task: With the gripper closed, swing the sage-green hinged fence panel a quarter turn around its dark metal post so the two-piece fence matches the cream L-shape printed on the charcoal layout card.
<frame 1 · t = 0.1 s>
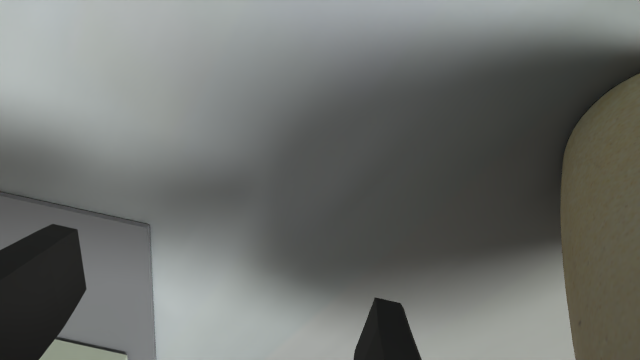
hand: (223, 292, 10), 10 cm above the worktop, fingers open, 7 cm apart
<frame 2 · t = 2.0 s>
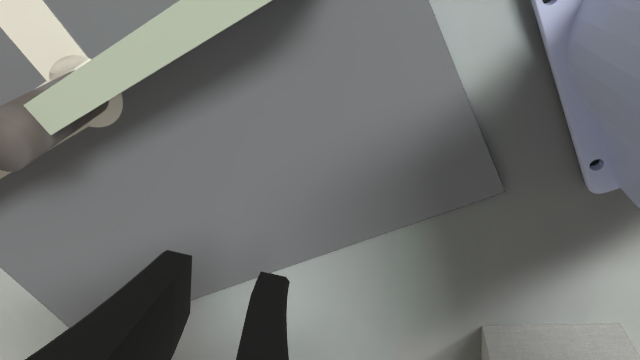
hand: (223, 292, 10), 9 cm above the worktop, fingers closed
sage fence panel: (186, 27, 14), point 3 cm above the worktop, hinge at 0.0°
walnut fence section: (86, 92, 18), resting on layout card
layout card: (98, 85, 18), on the worktop
pink white carton: (544, 343, 24), on the worktop
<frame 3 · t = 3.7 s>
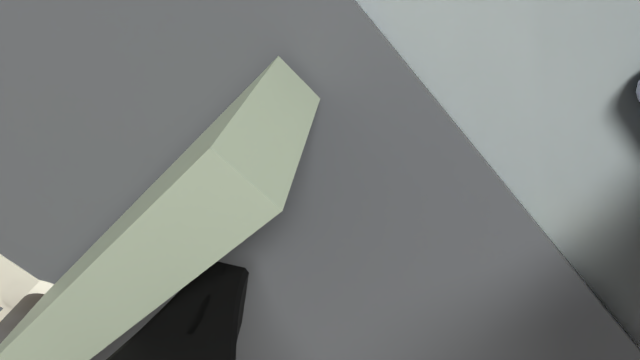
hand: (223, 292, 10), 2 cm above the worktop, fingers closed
sage fence panel: (114, 269, 9), point 3 cm above the worktop, hinge at 1.4°, touching gripper
walnut fence section: (50, 313, 14), resting on layout card
layout card: (63, 300, 14), on the worktop
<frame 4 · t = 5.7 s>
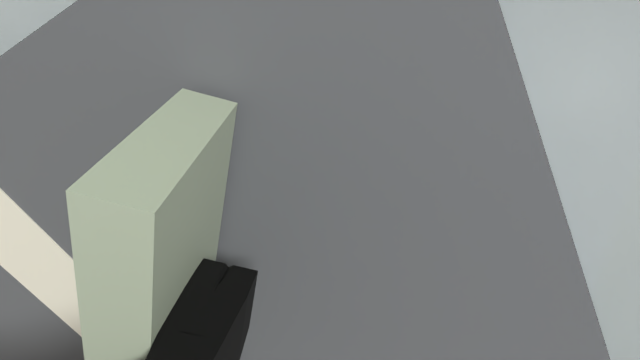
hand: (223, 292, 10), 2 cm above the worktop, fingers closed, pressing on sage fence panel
sage fence panel: (161, 335, 10), point 3 cm above the worktop, hinge at 48.4°, touching gripper
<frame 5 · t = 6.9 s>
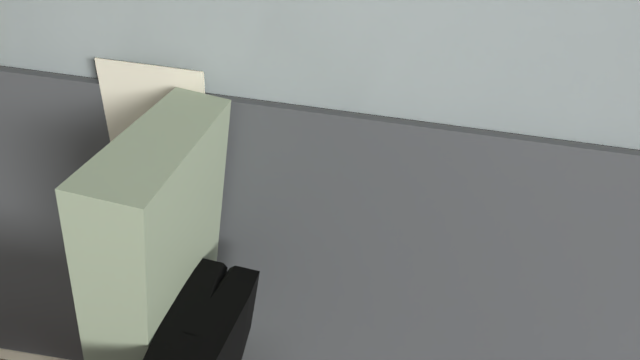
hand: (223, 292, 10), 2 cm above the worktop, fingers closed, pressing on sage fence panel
sage fence panel: (163, 334, 10), point 3 cm above the worktop, hinge at 84.1°, touching gripper
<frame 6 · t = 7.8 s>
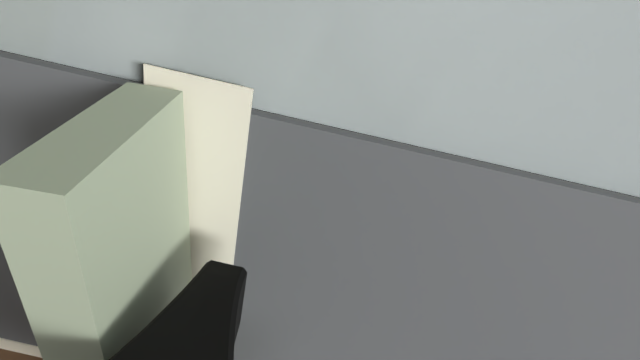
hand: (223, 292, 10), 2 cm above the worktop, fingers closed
sage fence panel: (137, 331, 10), point 3 cm above the worktop, hinge at 93.9°, touching gripper
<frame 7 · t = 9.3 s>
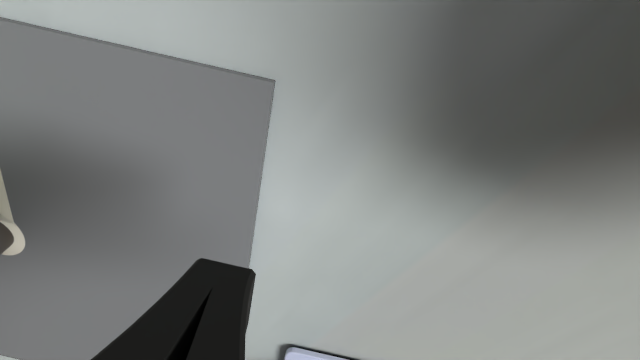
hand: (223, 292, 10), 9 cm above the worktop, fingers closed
layout card: (9, 231, 24), on the worktop
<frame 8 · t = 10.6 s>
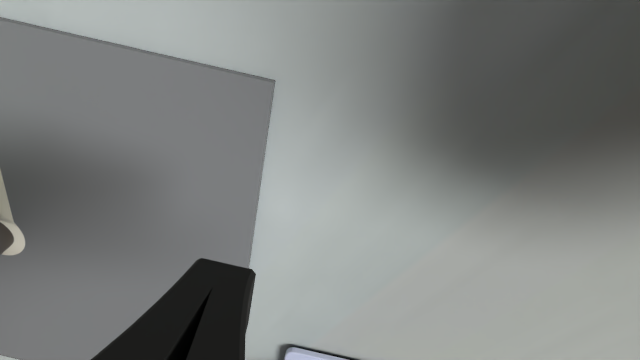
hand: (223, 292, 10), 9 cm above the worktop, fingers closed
layout card: (9, 231, 24), on the worktop
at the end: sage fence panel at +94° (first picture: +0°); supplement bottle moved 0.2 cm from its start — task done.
